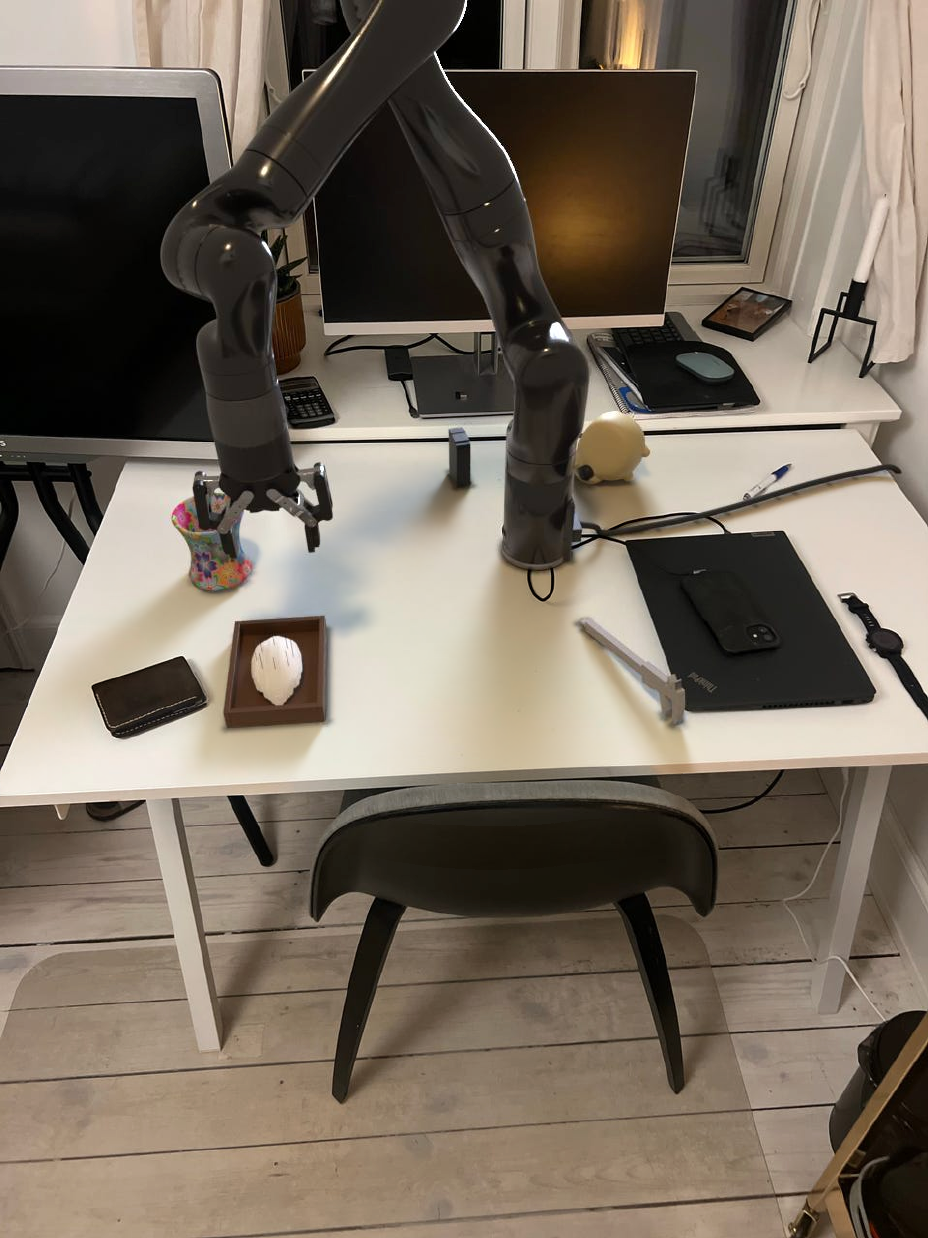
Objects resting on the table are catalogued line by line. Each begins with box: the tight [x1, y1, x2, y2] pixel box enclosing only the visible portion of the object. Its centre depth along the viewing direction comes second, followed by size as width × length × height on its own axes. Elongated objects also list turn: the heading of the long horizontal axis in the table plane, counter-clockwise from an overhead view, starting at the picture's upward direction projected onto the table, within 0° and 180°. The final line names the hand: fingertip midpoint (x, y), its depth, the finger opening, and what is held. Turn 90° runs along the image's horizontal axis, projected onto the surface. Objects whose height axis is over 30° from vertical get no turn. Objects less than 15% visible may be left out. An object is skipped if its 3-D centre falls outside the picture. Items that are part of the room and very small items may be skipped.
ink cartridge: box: [448, 426, 472, 489], centre depth 148 cm, size 5×2×8 cm, turn 14°
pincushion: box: [251, 633, 302, 705], centre depth 116 cm, size 12×6×6 cm, turn 10°
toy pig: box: [574, 410, 651, 485], centre depth 148 cm, size 10×12×11 cm
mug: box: [171, 492, 252, 591], centre depth 130 cm, size 12×9×11 cm
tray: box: [222, 615, 328, 729], centre depth 117 cm, size 11×16×3 cm
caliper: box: [578, 618, 686, 724], centre depth 117 cm, size 20×1×6 cm, turn 28°
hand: (273, 551), depth 107 cm, fingers open, 8 cm apart
